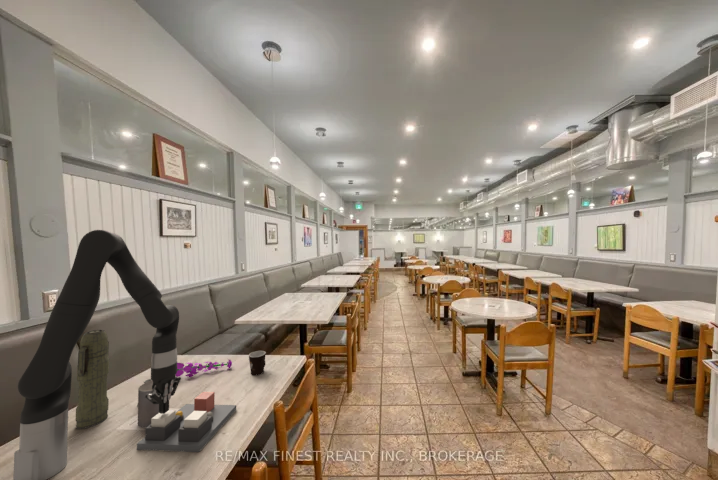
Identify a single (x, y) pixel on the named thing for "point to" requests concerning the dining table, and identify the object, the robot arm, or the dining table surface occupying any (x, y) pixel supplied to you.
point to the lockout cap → (204, 401)
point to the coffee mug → (257, 362)
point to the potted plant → (193, 369)
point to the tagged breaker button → (163, 419)
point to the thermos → (92, 379)
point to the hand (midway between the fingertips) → (164, 412)
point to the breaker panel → (185, 431)
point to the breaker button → (195, 419)
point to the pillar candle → (146, 405)
